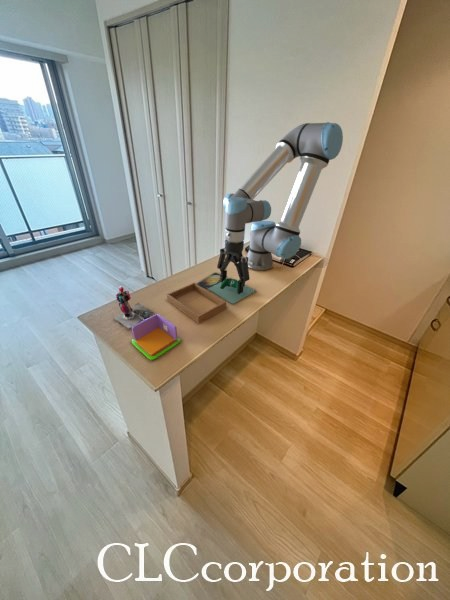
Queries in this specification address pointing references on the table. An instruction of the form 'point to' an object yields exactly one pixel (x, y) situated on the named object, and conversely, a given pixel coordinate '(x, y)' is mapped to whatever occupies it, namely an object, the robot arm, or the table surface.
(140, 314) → the statue
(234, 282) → the gaming controller
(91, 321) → the table surface
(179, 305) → the box
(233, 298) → the towel
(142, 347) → the miniature room corner
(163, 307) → the table surface
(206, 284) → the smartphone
